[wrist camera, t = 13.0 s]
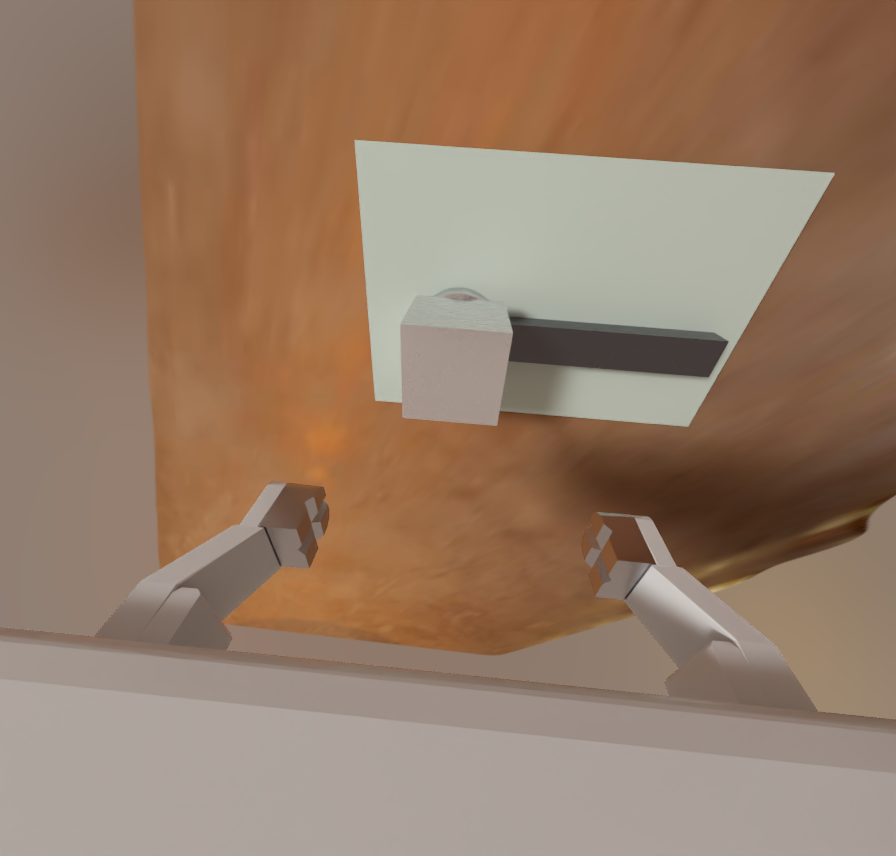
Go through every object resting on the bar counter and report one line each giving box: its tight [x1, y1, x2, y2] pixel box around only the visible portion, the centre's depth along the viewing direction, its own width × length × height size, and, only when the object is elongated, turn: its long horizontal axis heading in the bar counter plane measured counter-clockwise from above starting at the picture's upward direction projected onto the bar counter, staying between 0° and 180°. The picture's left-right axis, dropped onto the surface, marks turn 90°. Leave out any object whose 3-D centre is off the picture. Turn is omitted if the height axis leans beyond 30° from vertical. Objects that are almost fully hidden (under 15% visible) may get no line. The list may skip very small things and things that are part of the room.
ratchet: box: [434, 287, 729, 377], centre depth 24 cm, size 6×22×5 cm, turn 87°
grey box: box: [400, 295, 513, 426], centre depth 22 cm, size 6×6×6 cm
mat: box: [355, 140, 835, 427], centre depth 25 cm, size 18×28×1 cm, turn 87°
